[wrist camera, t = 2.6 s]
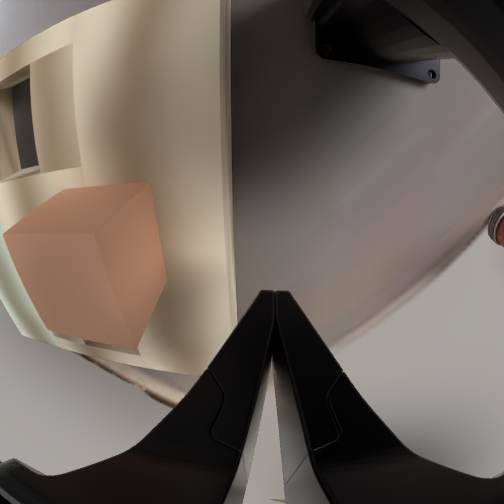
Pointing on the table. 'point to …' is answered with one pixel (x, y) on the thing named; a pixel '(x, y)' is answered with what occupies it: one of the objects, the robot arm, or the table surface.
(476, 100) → the table surface
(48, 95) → the cream flat piece
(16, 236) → the block
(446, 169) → the table surface
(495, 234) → the lighter
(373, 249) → the table surface
